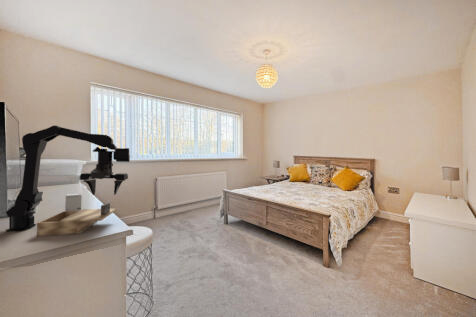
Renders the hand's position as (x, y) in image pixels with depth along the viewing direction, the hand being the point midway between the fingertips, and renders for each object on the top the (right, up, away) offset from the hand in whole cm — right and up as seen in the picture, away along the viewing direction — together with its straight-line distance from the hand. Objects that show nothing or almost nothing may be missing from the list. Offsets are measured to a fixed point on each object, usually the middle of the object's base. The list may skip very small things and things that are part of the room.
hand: (104, 194), depth 98 cm
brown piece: (-8, -12, -10) cm, 18 cm away
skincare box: (-15, -12, +1) cm, 20 cm away
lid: (0, -7, -9) cm, 11 cm away
